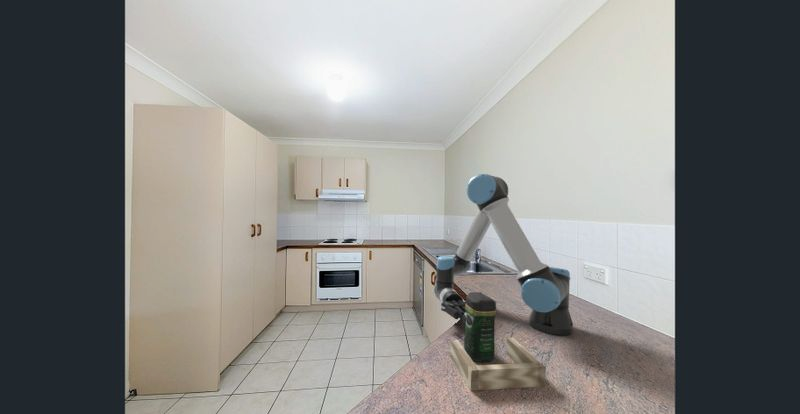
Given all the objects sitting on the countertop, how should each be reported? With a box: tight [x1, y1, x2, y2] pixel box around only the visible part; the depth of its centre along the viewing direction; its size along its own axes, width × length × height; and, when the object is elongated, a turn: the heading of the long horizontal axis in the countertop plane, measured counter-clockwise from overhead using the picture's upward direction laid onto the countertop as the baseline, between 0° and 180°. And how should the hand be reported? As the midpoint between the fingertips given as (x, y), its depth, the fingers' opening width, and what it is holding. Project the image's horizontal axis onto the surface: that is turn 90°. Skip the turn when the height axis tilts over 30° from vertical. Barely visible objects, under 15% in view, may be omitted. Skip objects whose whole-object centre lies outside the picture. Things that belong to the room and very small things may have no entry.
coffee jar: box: [463, 291, 497, 363], centre depth 88 cm, size 10×8×19 cm
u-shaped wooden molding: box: [449, 337, 547, 392], centre depth 80 cm, size 20×16×5 cm
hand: (473, 324), depth 92 cm, fingers closed
